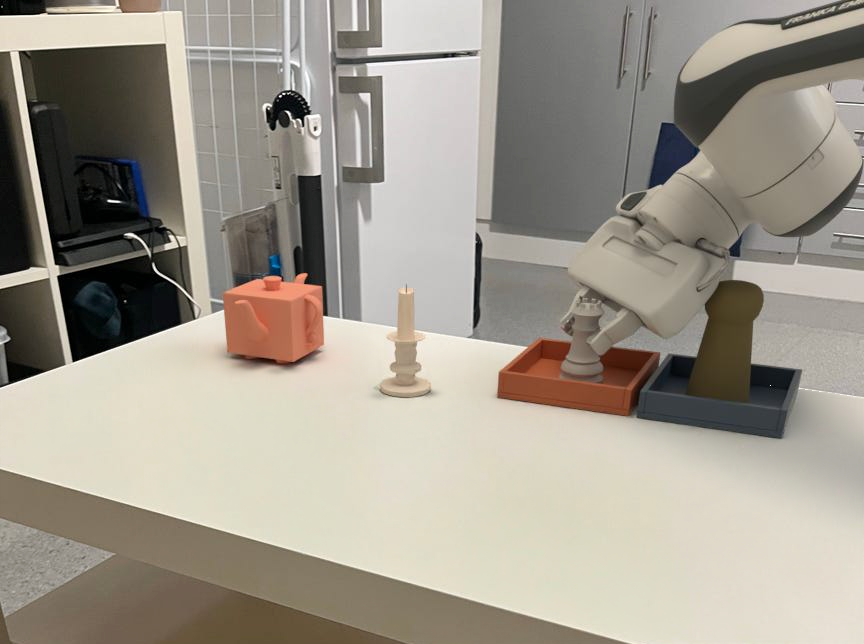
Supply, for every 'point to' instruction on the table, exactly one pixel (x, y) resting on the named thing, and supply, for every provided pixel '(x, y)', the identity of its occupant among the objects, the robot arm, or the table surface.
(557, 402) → the terracotta tray
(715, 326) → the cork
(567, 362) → the rook chess piece
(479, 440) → the table surface
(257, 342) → the teapot
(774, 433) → the slate tray
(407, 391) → the candle
